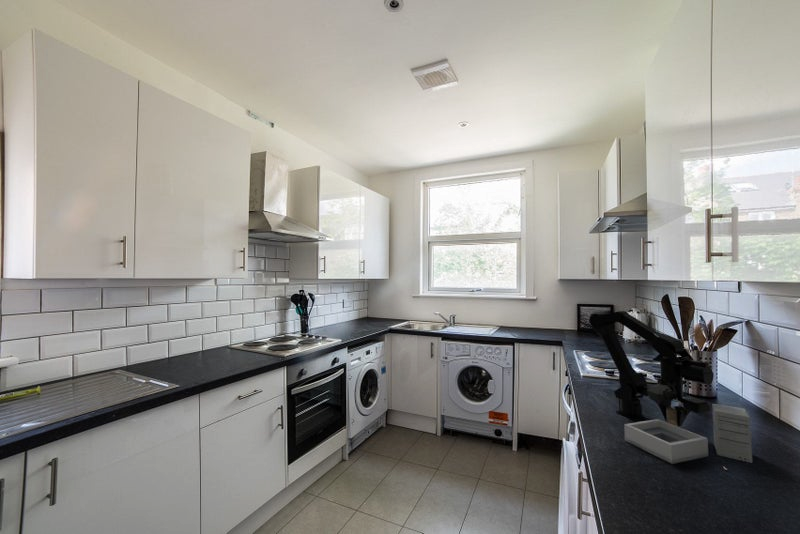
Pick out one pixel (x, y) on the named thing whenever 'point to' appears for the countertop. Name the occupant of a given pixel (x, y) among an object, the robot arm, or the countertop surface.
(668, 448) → the grey box
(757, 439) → the countertop surface
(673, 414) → the wooden peg
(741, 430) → the supplement box
